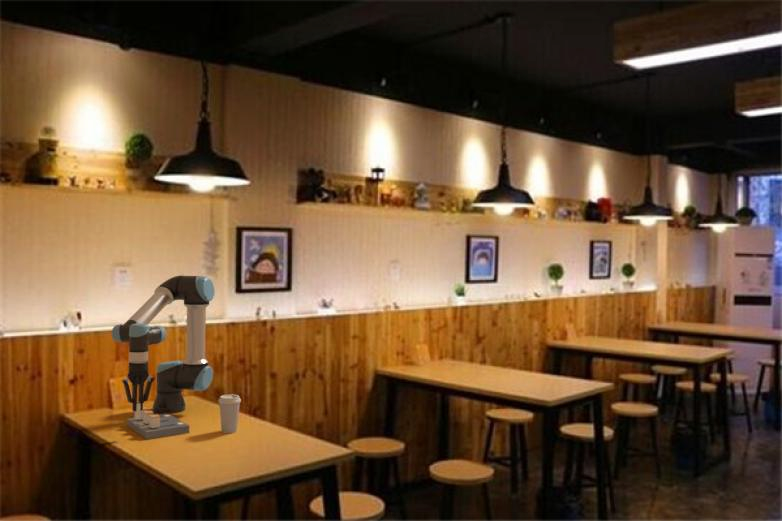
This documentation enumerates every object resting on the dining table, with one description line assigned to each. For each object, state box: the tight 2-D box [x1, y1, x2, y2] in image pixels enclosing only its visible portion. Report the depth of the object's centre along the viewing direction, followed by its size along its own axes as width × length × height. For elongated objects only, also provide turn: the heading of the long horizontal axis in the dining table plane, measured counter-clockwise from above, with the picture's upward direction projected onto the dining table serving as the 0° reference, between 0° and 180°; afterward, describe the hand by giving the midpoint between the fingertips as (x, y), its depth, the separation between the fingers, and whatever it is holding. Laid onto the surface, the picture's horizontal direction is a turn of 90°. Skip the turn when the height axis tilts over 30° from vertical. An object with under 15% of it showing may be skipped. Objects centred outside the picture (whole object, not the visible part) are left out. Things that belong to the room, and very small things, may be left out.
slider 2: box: [149, 413, 160, 428], centre depth 288 cm, size 3×4×5 cm
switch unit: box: [126, 413, 190, 440], centre depth 297 cm, size 18×26×3 cm
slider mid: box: [143, 409, 155, 424], centre depth 294 cm, size 3×4×5 cm
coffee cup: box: [217, 393, 242, 434], centre depth 296 cm, size 10×10×15 cm
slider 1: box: [139, 406, 148, 420], centre depth 301 cm, size 3×4×5 cm
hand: (137, 418), depth 283 cm, fingers closed
